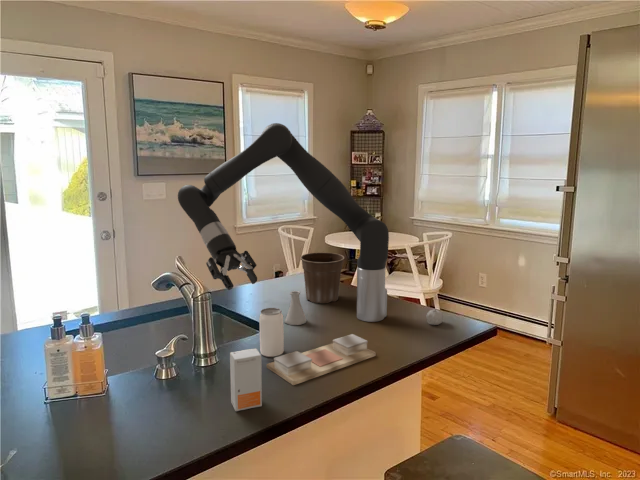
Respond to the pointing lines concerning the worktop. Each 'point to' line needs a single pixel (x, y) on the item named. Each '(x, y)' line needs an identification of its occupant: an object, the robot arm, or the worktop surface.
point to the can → (271, 332)
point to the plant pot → (322, 276)
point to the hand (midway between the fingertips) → (243, 285)
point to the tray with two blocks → (321, 359)
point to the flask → (295, 310)
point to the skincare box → (246, 379)
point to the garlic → (434, 317)
